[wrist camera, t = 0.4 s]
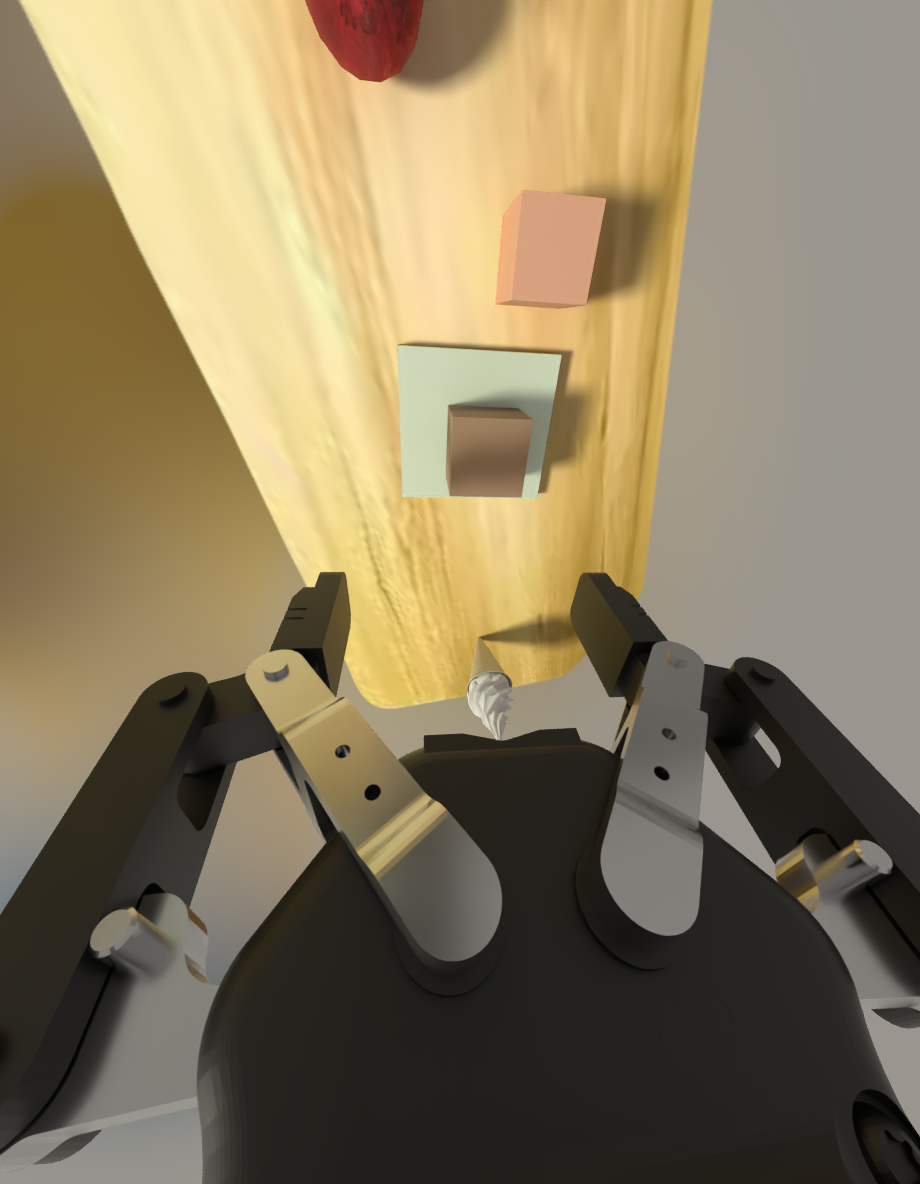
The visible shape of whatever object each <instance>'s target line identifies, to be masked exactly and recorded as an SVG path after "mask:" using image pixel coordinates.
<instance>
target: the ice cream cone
mask: <svg viewBox="0 0 920 1184" xmlns="http://www.w3.org/2000/svg"><path fill="white" fill-rule="evenodd" d="M511 688H512V681H511V679H510V678H509V676H507V675H506V674H505V672H504V671H503V669H502V668H501V666H500V665H499V663H498V662H497V660H496V659H495V658H494V656H493V655H492V653H491V652H490V650H489V649H488V647H487V646H486V645H485V643H484V642H483V640H482V639H481V638H480V637H478V638H477V643H476V648H475V653H474V658H473V663H472V668H471V674H470V679H469V683H468V685H467V697H468V700H469V706H470V708H471V709H472V711H473V713H474V715H476V716H478V717H480V718H482V723H483V724H484V725H485V726H486V727H487V728H488V729H489V730H490V731H491V732H492V734H493V735H494V736H495V738H496V739H497V740H502V735H503V731H504V727H505V724H506V723H505V722H506V721H507V719H508V717H507V716H504V713H505V712H506V711H508V710H510V709H512V707H510V706H508V702H510V701H513V700H514V698H511V697H508V694H509V692H511V691H512V689H511Z"/></svg>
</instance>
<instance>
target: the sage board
mask: <svg viewBox="0 0 920 1184" xmlns="http://www.w3.org/2000/svg"><path fill="white" fill-rule="evenodd" d="M561 356H562V355H559V354H547V353H529V352H512V351H495V350H477V349H460V348H443V347H425V346H408V345H398V375H399V405H400V436H401V466H402V496H403V497H440V498H509V499H537V496H538V490H539V484H540V478H541V472H542V467H543V461H544V455H545V449H546V443H547V438H548V432H549V426H550V420H551V414H552V408H553V403H554V397H555V391H556V385H557V379H558V374H559V368H560V362H561ZM448 405H455V406H479V407H503V408H519V409H520V410H521V411H523V412H524V413H525V414H526V415H528V416H529V417H530V418H531V419H533V424H532V431H531V438H530V445H529V451H528V458H527V465H526V472H525V478H524V485H523V492H522V497H460V496H450V495H449V490H448V485H447V481H446V451H447V419H448Z"/></svg>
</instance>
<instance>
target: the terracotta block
mask: <svg viewBox="0 0 920 1184" xmlns="http://www.w3.org/2000/svg"><path fill="white" fill-rule="evenodd" d="M605 204H606V198H597V197H587V196H578V195H569V194H559V193H550V192H540V191H531V190H522V191H521V192H520V194H519V195H518V196H517V197H516V199H515V200H514V201H513V202H512V204H511V205H510V206H509V207H508V209H507V210H506V211H505V212H504V214H503V219H502V231H501V243H500V255H499V267H498V279H497V291H496V302H495V304H499V305H513V306H527V307H541V308H555V309H560V308H568V307H577V306H585V305H586V303H587V298H588V293H589V288H590V282H591V277H592V272H593V267H594V261H595V256H596V251H597V246H598V240H599V235H600V230H601V225H602V219H603V214H604V209H605Z"/></svg>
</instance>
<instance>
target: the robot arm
mask: <svg viewBox="0 0 920 1184" xmlns="http://www.w3.org/2000/svg"><path fill="white" fill-rule="evenodd" d="M570 616H571V623H572V626H573V628H574V629H575V631H576V633H577V635H578V637H579V639H580V641H581V643H582V645H583V647H584V649H585V651H586V653H587V655H588V656H589V659H590V661H591V662H592V664H593V666H594V668H595V670H596V672H597V674H598V676H599V678H600V680H601V682H602V684H603V686H604V688H605V690H606V692H607V694H608V695H609V697H625V699H626V704H625V706H624V708H623V711H622V714H621V717H620V720H619V723H618V726H617V729H616V732H615V735H614V738H613V742H612V745H611V748H610V751H608V750H606V749H604V748H602V747H600V746H598V745H595V744H592V743H589V742H586V741H581V740H580V737H579V734H578V732H577V730H576V728H566V729H547V730H546V729H545V730H538V731H535V732H531V733H528V734H525V735H522V736H519V737H515V738H512V739H509V740H504V741H501V740H495V739H489V738H484V737H478V736H473V735H468V734H446V735H445V734H444V735H425V736H424V748H421V749H418V750H415V751H413V752H411V753H409V754H406V755H405V756H403V757H402V758H400V759H397V758H396V757H395V756H394V755H393V753H392V752H391V751H390V750H389V748H388V747H387V746H386V745H385V744H384V742H383V741H382V740H381V739H380V738H379V736H378V735H377V734H376V733H375V732H374V730H373V729H372V728H371V727H370V725H369V724H368V723H367V722H366V721H365V720H364V718H363V717H362V716H361V715H360V713H359V712H358V711H357V710H356V709H355V707H354V706H353V705H352V704H351V703H350V702H349V701H348V700H347V699H346V698H344V697H342V698H340V699H337V698H336V695H337V690H338V684H339V680H340V675H341V669H342V665H343V660H344V655H345V650H346V646H347V641H348V636H349V631H350V623H351V612H350V603H349V595H348V588H347V580H346V575H345V572H320V574H319V577H318V580H317V582H316V585H315V587H304V588H303V589H301V590H300V591H299V592H298V593H297V594H296V595H295V596H294V597H293V598H292V600H291V602H290V604H289V607H288V610H287V612H286V614H285V616H284V620H283V621H282V623H281V626H280V628H279V630H278V632H277V635H276V637H275V640H274V642H273V644H272V646H271V649H270V651H269V653H266V654H264V655H262V656H260V657H259V658H257V659H256V660H254V661H253V662H252V663H251V664H250V666H249V667H248V669H247V671H246V673H244V674H242V675H239V676H236V677H232V678H229V679H225V680H221V681H217V682H213V683H209V684H208V682H207V680H206V678H205V677H204V676H202V675H201V674H198V673H194V672H182V673H177V674H173V675H170V676H167V677H165V678H162V679H160V680H158V681H156V682H155V683H153V684H152V685H151V686H149V687H148V688H147V689H146V690H145V691H144V692H143V693H142V694H141V695H140V697H139V698H138V700H137V702H136V703H135V705H134V706H133V708H132V709H131V711H130V712H129V714H128V715H127V717H126V719H125V720H124V722H123V723H122V725H121V727H120V728H119V730H118V731H117V733H116V734H115V736H114V737H113V739H112V741H111V742H110V744H109V745H108V747H107V749H106V750H105V752H104V753H103V755H102V756H101V758H100V759H99V761H98V763H97V764H96V766H95V767H94V769H93V770H92V772H91V774H90V775H89V777H88V779H87V780H86V781H85V783H84V784H83V786H82V788H81V789H80V791H79V792H78V794H77V795H76V797H75V799H74V800H73V802H72V803H71V805H70V806H69V808H68V810H67V811H66V813H65V814H64V816H63V818H62V819H61V821H60V822H59V824H58V825H57V827H56V828H55V830H54V832H53V833H52V835H51V836H50V838H49V839H48V841H47V843H46V844H45V846H44V847H43V849H42V850H41V852H40V854H39V855H38V857H37V858H36V860H35V861H34V863H33V864H32V866H31V868H30V869H29V871H28V872H27V874H26V875H25V877H24V879H23V880H22V882H21V884H20V885H19V886H18V888H17V890H16V891H15V893H14V894H13V896H12V898H11V899H10V901H9V902H8V904H7V905H6V907H5V908H4V910H3V912H2V913H1V915H0V1172H8V1171H15V1170H19V1169H23V1168H25V1167H27V1166H29V1165H33V1164H46V1163H54V1162H57V1161H61V1160H63V1159H65V1158H68V1157H70V1156H71V1155H73V1154H75V1153H76V1152H78V1151H79V1150H81V1149H82V1148H83V1147H84V1146H85V1145H87V1144H88V1143H89V1142H90V1141H91V1140H92V1139H93V1138H94V1137H95V1136H96V1135H97V1134H98V1133H99V1132H100V1131H101V1130H102V1129H105V1128H109V1127H113V1126H117V1125H122V1124H125V1123H130V1122H134V1121H138V1120H142V1119H146V1118H151V1117H155V1116H159V1115H163V1114H167V1113H172V1112H175V1111H180V1110H184V1109H188V1108H193V1107H196V1106H198V1109H199V1116H200V1124H201V1133H202V1148H203V1180H202V1184H920V1136H919V1135H918V1133H917V1132H916V1130H915V1129H914V1127H913V1126H912V1124H911V1123H910V1121H909V1119H908V1118H907V1116H906V1114H905V1113H904V1111H903V1109H902V1107H901V1105H900V1103H899V1101H898V1099H897V1097H896V1095H895V1093H894V1091H893V1089H892V1087H891V1084H890V1082H889V1080H888V1078H887V1076H886V1074H885V1072H884V1070H883V1067H882V1064H881V1062H880V1060H879V1057H878V1055H877V1052H876V1050H875V1048H874V1045H873V1042H872V1039H871V1037H870V1034H869V1031H868V1028H867V1025H866V1022H865V1018H864V1014H863V1011H862V1009H872V1010H873V1011H874V1012H875V1013H876V1014H878V1015H879V1016H880V1017H882V1018H883V1019H885V1020H886V1021H888V1022H890V1023H892V1024H894V1025H897V1026H899V1027H903V1028H916V1027H920V814H919V813H918V812H917V811H916V810H915V809H914V808H913V807H912V806H911V805H910V804H909V803H908V802H907V801H906V800H905V799H904V798H903V797H902V796H901V795H900V794H899V792H898V791H897V790H896V789H895V788H893V786H892V785H891V784H890V783H889V782H888V781H887V780H886V779H885V778H884V777H883V776H882V775H881V774H880V773H879V772H878V771H877V770H876V769H875V767H874V766H872V764H871V763H870V762H869V761H868V760H867V759H866V758H865V757H864V756H863V755H862V754H861V753H860V752H859V751H858V750H857V749H856V748H855V747H854V746H853V745H852V744H851V743H850V742H849V740H848V739H847V738H845V736H844V735H843V734H842V733H841V732H840V731H839V730H838V729H837V728H836V727H835V726H834V725H833V724H832V723H831V722H830V721H829V720H828V719H827V718H826V717H825V716H824V715H823V714H822V712H821V711H820V710H819V709H817V707H816V706H815V705H814V704H813V703H812V702H811V701H810V700H809V699H808V698H807V697H806V696H805V695H804V694H803V693H802V692H801V691H800V690H799V689H798V687H797V686H795V684H794V683H793V682H792V681H791V680H790V679H789V678H788V677H787V676H786V675H785V674H784V673H783V672H781V671H780V670H779V669H777V668H776V667H774V666H773V665H771V664H769V663H767V662H764V661H761V660H759V659H755V658H749V657H742V658H739V659H737V660H736V661H735V662H734V664H733V665H732V667H731V668H730V669H727V668H722V667H718V666H713V665H708V664H704V662H703V660H702V659H701V658H700V656H699V655H698V654H696V653H695V652H694V651H693V650H691V649H690V648H688V647H686V646H684V645H682V644H679V643H675V642H671V641H668V640H667V639H666V637H665V636H664V635H663V634H662V632H661V631H660V630H659V629H658V627H657V626H656V625H655V623H654V622H653V621H652V620H651V618H650V617H649V616H648V615H646V612H645V611H644V609H643V608H642V607H640V604H639V603H638V602H637V600H636V599H635V598H634V597H633V595H631V594H630V593H628V592H627V591H625V590H624V589H623V588H621V587H617V586H616V585H615V584H614V582H613V581H612V580H611V578H610V577H609V576H608V574H606V573H583V574H582V575H581V576H580V579H579V582H578V586H577V589H576V593H575V596H574V600H573V603H572V606H571V613H570ZM760 728H762V730H763V731H764V732H765V733H766V735H767V736H768V737H769V739H770V740H771V741H772V742H773V743H774V745H775V746H776V748H777V749H778V751H779V754H780V757H781V764H780V767H779V768H777V767H776V765H775V764H774V763H773V761H772V760H771V758H770V757H769V756H768V754H767V753H766V752H765V750H764V749H763V748H762V746H761V745H760V744H759V742H758V741H757V740H756V738H755V737H754V735H755V734H756V733H757V732H758V731H759V729H760ZM270 750H273V751H274V753H275V755H276V756H277V758H278V760H279V762H280V763H281V765H282V767H283V769H284V770H285V772H286V774H287V775H288V777H289V779H290V781H291V782H292V784H293V786H294V788H295V789H296V791H297V793H298V794H299V796H300V798H301V800H302V802H303V804H304V806H305V808H306V810H307V812H308V815H309V817H310V819H311V821H312V823H313V825H314V826H315V828H316V830H317V832H318V834H319V835H320V837H321V839H322V841H323V842H324V844H325V845H324V846H323V848H322V849H321V850H320V851H319V853H318V854H317V855H316V856H315V858H314V859H313V860H312V861H311V863H310V864H309V865H308V866H307V868H306V869H305V870H304V871H303V873H302V874H301V875H300V876H299V878H298V879H297V880H296V881H295V883H294V884H293V885H292V886H291V888H290V889H289V890H288V891H287V893H286V894H285V895H284V896H283V898H282V899H281V900H280V902H279V903H278V904H277V905H276V906H275V908H274V909H273V910H272V911H271V913H270V914H269V915H268V917H267V918H266V919H265V920H264V921H263V923H262V924H261V925H260V926H259V928H258V929H257V930H256V932H255V933H254V934H253V935H252V936H251V938H250V939H249V940H248V941H247V943H246V944H245V945H244V947H243V948H242V949H241V951H240V952H239V953H238V955H237V956H236V958H235V959H234V961H233V962H232V964H231V966H230V967H229V969H228V971H227V973H226V974H225V976H224V978H223V980H222V982H221V984H217V985H211V984H209V982H208V980H207V977H206V971H205V961H206V954H207V948H208V933H207V929H206V926H205V924H204V922H203V921H202V920H201V919H200V918H199V917H198V916H197V915H196V914H195V913H194V912H193V911H192V910H191V909H190V908H189V907H190V904H191V900H192V898H193V894H194V891H195V888H196V885H197V882H198V879H199V876H200V873H201V870H202V867H203V864H204V861H205V857H206V855H207V851H208V848H209V845H210V842H211V839H212V836H213V833H214V830H215V827H216V824H217V821H218V818H219V815H220V812H221V809H222V806H223V803H224V800H225V797H226V794H227V790H228V788H229V784H230V781H231V778H232V775H233V772H234V769H235V766H236V763H237V761H240V760H243V759H246V758H249V757H252V756H255V755H258V754H261V753H264V752H267V751H270ZM705 750H706V752H707V754H708V755H709V757H710V758H711V760H712V762H713V763H714V765H715V767H716V768H717V770H718V772H719V773H720V775H721V776H722V778H723V780H724V781H725V783H726V784H727V786H728V788H729V790H730V791H731V793H732V794H733V796H734V798H735V799H736V801H737V803H738V804H739V806H740V807H741V809H742V811H743V813H744V814H745V816H746V817H747V819H748V821H749V822H750V824H751V826H752V827H753V829H754V831H755V832H756V834H757V835H758V837H759V839H760V840H761V842H762V844H763V845H764V847H765V849H766V850H767V852H768V853H769V855H770V857H771V858H772V860H773V862H774V863H775V865H776V866H775V873H776V879H777V881H775V880H774V879H773V878H771V877H770V876H769V875H767V874H766V873H765V872H764V871H763V870H761V869H760V868H759V867H758V866H756V865H755V864H754V863H752V862H751V861H750V860H749V859H747V858H746V857H745V856H744V855H742V854H741V853H740V852H739V851H737V850H736V849H735V848H734V847H732V846H731V845H730V844H729V843H727V842H726V841H725V840H723V839H722V838H721V837H719V836H718V835H717V834H716V833H715V832H713V831H712V830H711V829H710V828H708V827H707V826H706V825H704V824H703V823H702V822H701V821H699V813H700V802H701V791H702V780H703V779H702V778H703V768H704V757H705Z"/></svg>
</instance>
